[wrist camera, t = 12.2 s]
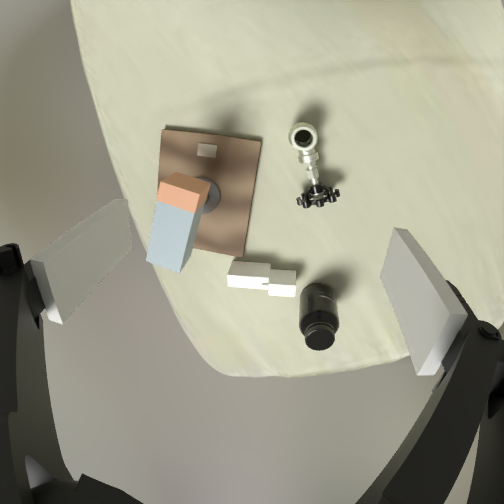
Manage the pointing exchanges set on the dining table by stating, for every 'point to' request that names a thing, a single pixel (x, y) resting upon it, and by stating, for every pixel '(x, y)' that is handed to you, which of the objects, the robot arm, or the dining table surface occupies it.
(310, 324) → the supplement bottle
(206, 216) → the board
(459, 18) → the dining table surface
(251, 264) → the white stepped block
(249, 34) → the dining table surface
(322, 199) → the valve
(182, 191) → the blue-orange block
